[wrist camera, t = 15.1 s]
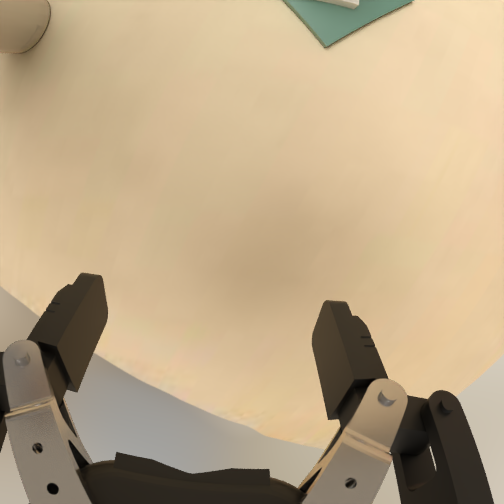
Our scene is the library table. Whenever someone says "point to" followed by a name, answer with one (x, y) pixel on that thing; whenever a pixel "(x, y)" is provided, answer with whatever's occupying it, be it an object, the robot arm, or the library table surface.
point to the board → (340, 15)
